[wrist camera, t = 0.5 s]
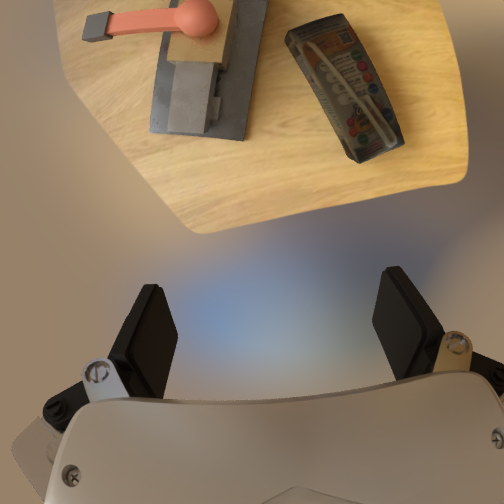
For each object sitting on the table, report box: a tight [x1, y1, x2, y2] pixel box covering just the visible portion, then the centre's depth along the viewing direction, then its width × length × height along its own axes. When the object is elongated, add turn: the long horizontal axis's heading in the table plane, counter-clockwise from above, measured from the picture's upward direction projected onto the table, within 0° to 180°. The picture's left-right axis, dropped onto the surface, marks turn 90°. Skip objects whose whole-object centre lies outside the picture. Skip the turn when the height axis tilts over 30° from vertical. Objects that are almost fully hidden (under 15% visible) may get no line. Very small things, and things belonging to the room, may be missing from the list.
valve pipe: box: [149, 0, 268, 141], centre depth 25 cm, size 28×13×8 cm, turn 171°
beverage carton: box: [285, 13, 405, 164], centre depth 29 cm, size 8×19×7 cm, turn 29°
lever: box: [82, 0, 219, 42], centre depth 19 cm, size 15×4×3 cm, turn 81°
